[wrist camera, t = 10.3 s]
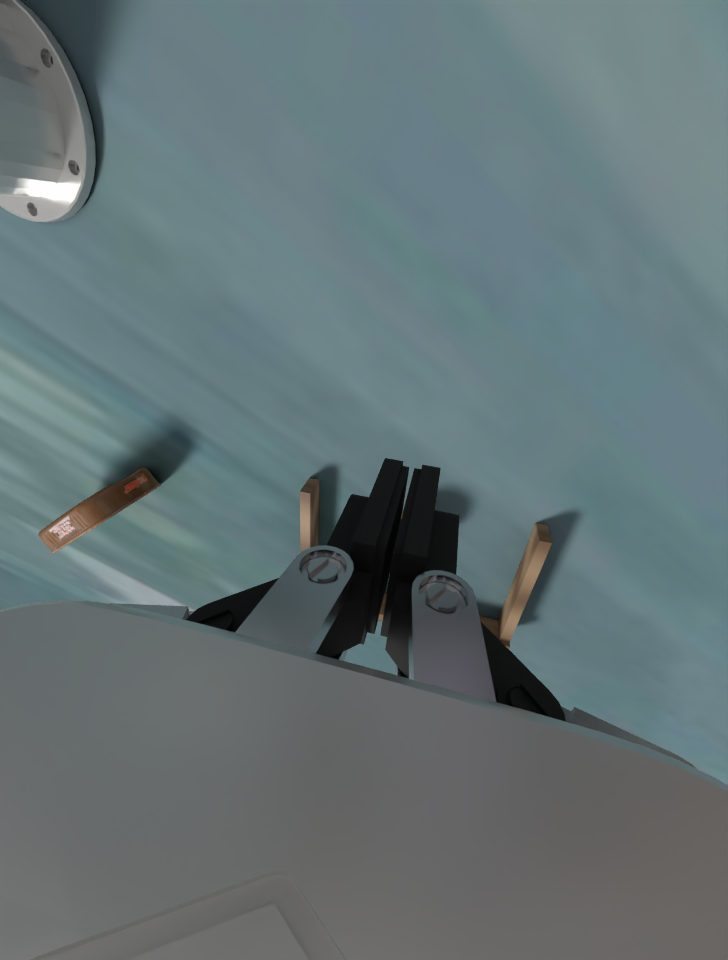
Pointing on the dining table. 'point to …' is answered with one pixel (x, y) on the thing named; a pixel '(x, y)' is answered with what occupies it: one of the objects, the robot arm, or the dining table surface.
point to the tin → (97, 509)
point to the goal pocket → (500, 628)
